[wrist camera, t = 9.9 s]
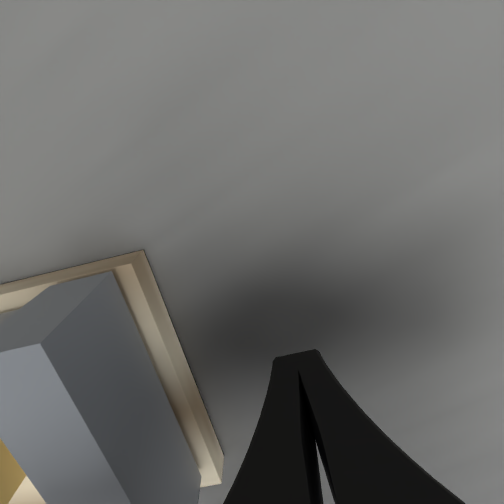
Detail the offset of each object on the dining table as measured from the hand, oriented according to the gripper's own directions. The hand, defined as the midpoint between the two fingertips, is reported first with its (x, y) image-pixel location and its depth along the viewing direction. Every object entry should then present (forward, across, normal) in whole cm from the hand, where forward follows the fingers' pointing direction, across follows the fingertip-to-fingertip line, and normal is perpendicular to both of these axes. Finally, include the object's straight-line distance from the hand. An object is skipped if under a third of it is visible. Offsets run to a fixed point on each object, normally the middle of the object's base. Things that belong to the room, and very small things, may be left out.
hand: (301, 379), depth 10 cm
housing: (+1, +7, 0) cm, 7 cm away
